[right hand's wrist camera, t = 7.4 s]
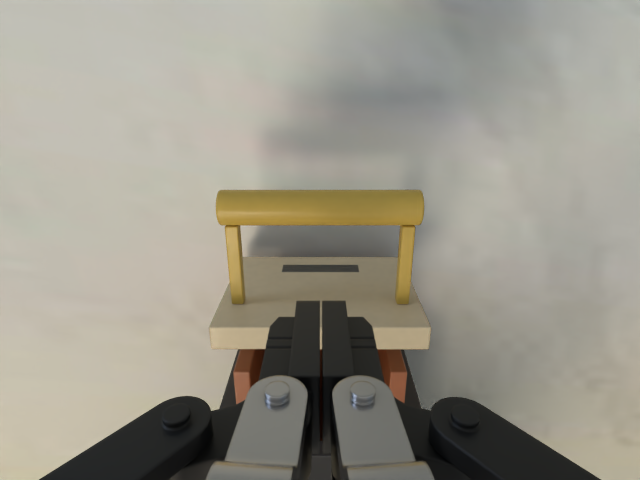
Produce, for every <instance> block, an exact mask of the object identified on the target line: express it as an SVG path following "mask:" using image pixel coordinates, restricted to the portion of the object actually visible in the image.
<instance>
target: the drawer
mask: <svg viewBox="0 0 640 480" xmlns="http://www.w3.org/2000/svg"><path fill="white" fill-rule="evenodd" d="M216 215H217V220H218V222H219V224H220V225H226V226H225V235H226V246H227V257H228V268H229V279H230V283H229V285H228V287H227V289H226V291H225V294H224V296H223V298H222V300H221V302H220V304H219V307H218V309H217V311H216V313H215V315H214V318H213V320H212V322H211V324H210V326H209V332H210V341H211V348H212V349H240V352H239V355H238V358H237V361H236V365H235V368H234V371H233V375H234V386H235V396H236V404H238V403H240V402H242V401H244V400H245V399H246V396H247V393H248V391H249V389H250V388H251V387H252V386H253V385H254V384H255V383H256V382H258V381H259V376H260V371H261V367H262V362H263V357H264V352H265V349H266V343H267V339H268V333H269V328H270V326H271V325H272V324H273V322H274V321H275V320H276V319H277V318H278V317H295V309H296V301H320V441H323V433H322V301H346V308H347V316H348V317H364V318H365V319H366V320H367V321H368V322H369V323H370V324H371V325H372V327H373V332H374V337H375V341H376V346H377V350H378V355H379V360H380V364H381V369H382V373H383V378H384V382H385V384H386V385H387V386H388V387H389V388H390V389H391V391H392V393H393V396H394V397H395V398H397V399H398V400H399V401H401V402H403V403H405V391H406V380H407V370H406V367H405V363H404V360H403V356H402V353H401V349H429V344H430V335H431V326H430V324H429V322H428V319H427V317H426V315H425V312H424V310H423V308H422V306H421V303H420V301H419V299H418V297H417V294H416V292H415V290H414V287H413V285H412V283H411V272H412V261H413V249H414V237H415V226H414V225H420V224H421V223H422V220H423V216H424V198H423V194H422V191H420V190H220V191H219V192H218V194H217V198H216ZM240 225H400V235H399V249H398V257H242V244H241V231H240Z"/></svg>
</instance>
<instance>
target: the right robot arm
mask: <svg viewBox="0 0 640 480" xmlns="http://www.w3.org/2000/svg"><path fill="white" fill-rule="evenodd" d="M322 433H323V454H331V480H601V479H599V478H597V477H596V476H594V475H593V474H591V473H589V472H588V471H586V470H585V469H583V468H581V467H580V466H578V465H577V464H575V463H573V462H572V461H570V460H569V459H567V458H566V457H564V456H562V455H561V454H559V453H558V452H556V451H554V450H553V449H551V448H550V447H548V446H546V445H545V444H543V443H542V442H540V441H538V440H537V439H535V438H534V437H532V436H531V435H529V434H527V433H526V432H524V431H523V430H521V429H519V428H518V427H516V426H515V425H513V424H511V423H510V422H508V421H507V420H505V419H503V418H502V417H500V416H499V415H497V414H495V413H494V412H492V411H491V410H489V409H488V408H486V407H484V406H483V405H481V404H479V403H477V402H475V401H472V400H469V399H466V398H460V397H449V398H444V399H441V400H439V401H438V402H436V403H435V404H434V406H433V407H432V409H431V411H429V410H425V409H421V408H417V407H414V406H410V405H408V404H405V403H403V402H401V401H399V400H398V399H397V398H395V397H394V396H393V393H392V391H391V389H390V388H389V387H388V386H387V385H386V384H385V382H384V378H383V373H382V369H381V364H380V360H379V355H378V350H377V346H376V341H375V337H374V332H373V327H372V325H371V324H370V323H369V322H368V321H367V320H366V319H365V318H364V317H348V316H347V308H346V301H322ZM312 454H320V301H296V309H295V317H278V318H277V319H276V320H275V321H274V322H273V324H272V325H271V326H270V328H269V333H268V339H267V343H266V349H265V352H264V357H263V362H262V367H261V371H260V376H259V381H258V382H256V383H255V384H254V385H253V386H252V387H251V388H250V389H249V391H248V393H247V396H246V399H245V400H244V401H242V402H240V403H238V404H236V405H233V406H230V407H226V408H222V409H218V410H214V411H211V410H210V407H209V405H208V404H207V403H206V402H205V401H204V400H202V399H200V398H197V397H192V396H182V397H176V398H172V399H169V400H167V401H164V402H162V403H161V404H159V405H157V406H156V407H154V408H152V409H151V410H149V411H148V412H146V413H145V414H143V415H141V416H140V417H138V418H137V419H135V420H133V421H132V422H130V423H129V424H127V425H125V426H124V427H122V428H121V429H119V430H117V431H116V432H114V433H113V434H111V435H110V436H108V437H106V438H105V439H103V440H102V441H100V442H98V443H97V444H95V445H94V446H92V447H90V448H89V449H87V450H86V451H84V452H82V453H81V454H79V455H78V456H76V457H74V458H73V459H71V460H70V461H68V462H67V463H65V464H63V465H62V466H60V467H59V468H57V469H55V470H54V471H52V472H51V473H49V474H47V475H46V476H44V477H43V478H41V479H39V480H309V476H310V473H311V465H312Z"/></svg>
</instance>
